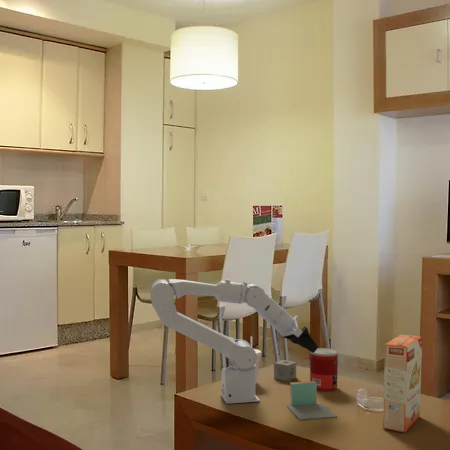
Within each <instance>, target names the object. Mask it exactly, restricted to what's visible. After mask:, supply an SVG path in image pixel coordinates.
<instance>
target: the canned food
mask: <svg viewBox="0 0 450 450" xmlns="http://www.w3.org/2000/svg"><path fill="white" fill-rule="evenodd" d="M309 352H310V357H309V358H310V360H309V365H310V366H309V369H310V370H309V372H310V373H309V376H310V377H309V381H315V382H316V383H317V391H318V392H333V391H336V390H337V388H338V365H339V364H338V362H339V361H338V359H339V355H338V351H337V350H335V349H332V348H323V347H320V348H319V347H318V348H317V350H316V351H315V352H314V353H313V352H311V351H309Z"/></svg>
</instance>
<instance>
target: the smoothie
mask: <svg viewBox="0 0 450 450" xmlns="http://www.w3.org/2000/svg"><path fill="white" fill-rule="evenodd" d="M250 346H251V348H252V349H254V351H255V352H256V355H257V360H256V363H255V365H256V383H255V385H257V383H258V375H259V368H260V362H261V361H260V360H261V356H262V351H261V350H259V349H257V348H253V336H250Z"/></svg>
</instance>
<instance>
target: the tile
mask: <svg viewBox="0 0 450 450" xmlns="http://www.w3.org/2000/svg"><path fill="white" fill-rule="evenodd" d="M317 393H318V392H317V383H316V382H315V381H310V380H309V381H296V382H289V406H295V405H310V404H317V399H318V398H317Z"/></svg>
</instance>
